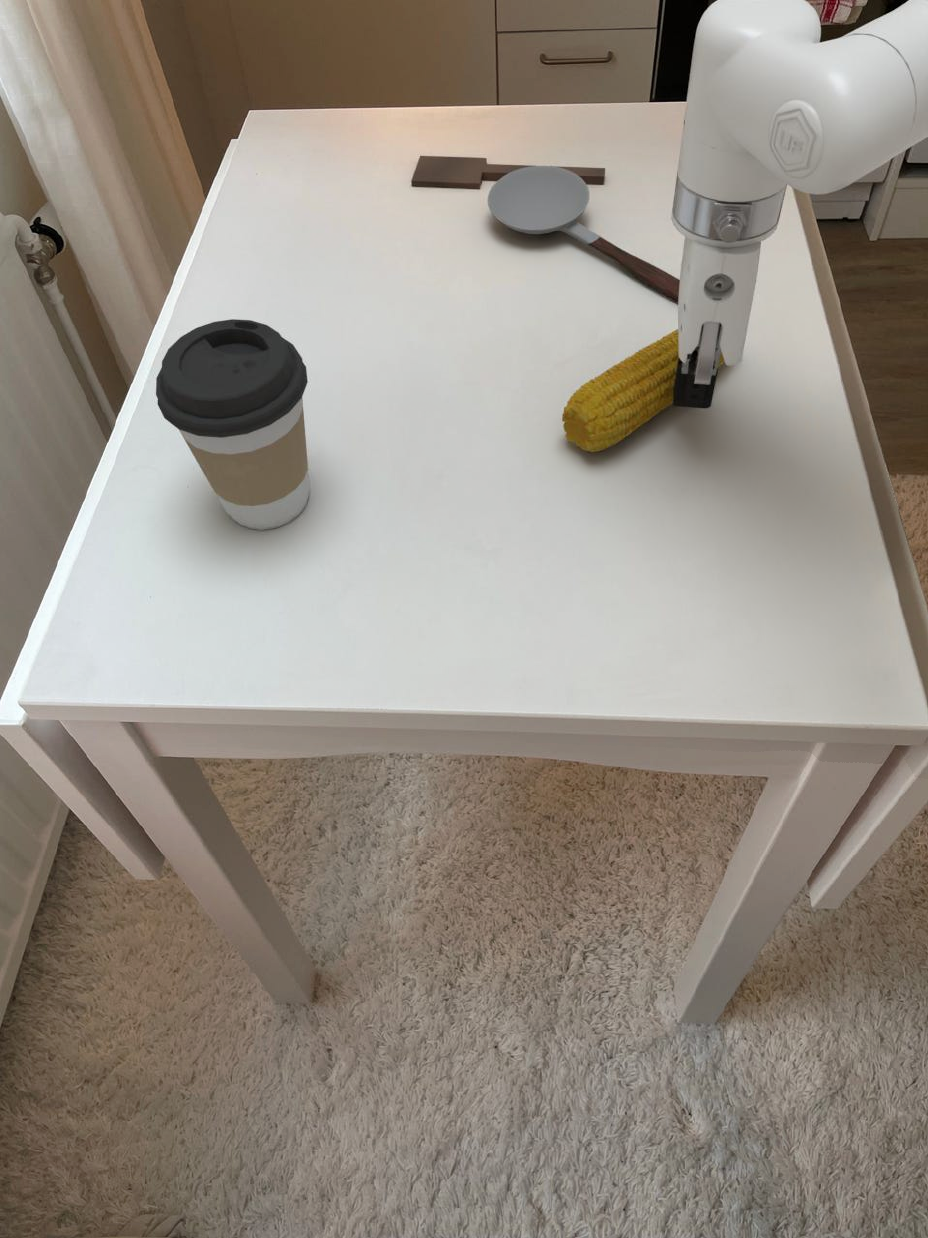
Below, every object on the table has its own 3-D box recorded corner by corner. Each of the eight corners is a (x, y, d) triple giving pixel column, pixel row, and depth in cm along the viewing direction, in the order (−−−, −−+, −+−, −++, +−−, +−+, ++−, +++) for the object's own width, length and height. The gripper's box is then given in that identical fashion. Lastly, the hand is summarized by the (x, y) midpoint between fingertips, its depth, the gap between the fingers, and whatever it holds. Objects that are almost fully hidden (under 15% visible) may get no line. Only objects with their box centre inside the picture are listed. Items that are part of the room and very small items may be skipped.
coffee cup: (353, 465, 84) (325, 321, 72) (302, 562, 77) (262, 422, 65) (236, 442, 86) (190, 300, 74) (178, 534, 80) (116, 394, 68)
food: (598, 474, 82) (603, 421, 77) (551, 442, 84) (552, 389, 79) (750, 358, 90) (762, 304, 85) (702, 332, 92) (711, 278, 87)
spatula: (606, 167, 111) (606, 158, 110) (602, 193, 108) (603, 184, 107) (420, 160, 114) (419, 152, 113) (411, 186, 110) (410, 177, 110)
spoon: (538, 177, 109) (538, 152, 106) (774, 310, 95) (780, 285, 92) (468, 224, 106) (466, 200, 103) (702, 369, 91) (706, 345, 89)
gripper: (787, 263, 62) (737, 465, 77) (778, 146, 71) (734, 348, 86) (671, 258, 63) (643, 459, 78) (675, 143, 72) (650, 344, 87)
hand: (691, 401), depth 82 cm, fingers closed
